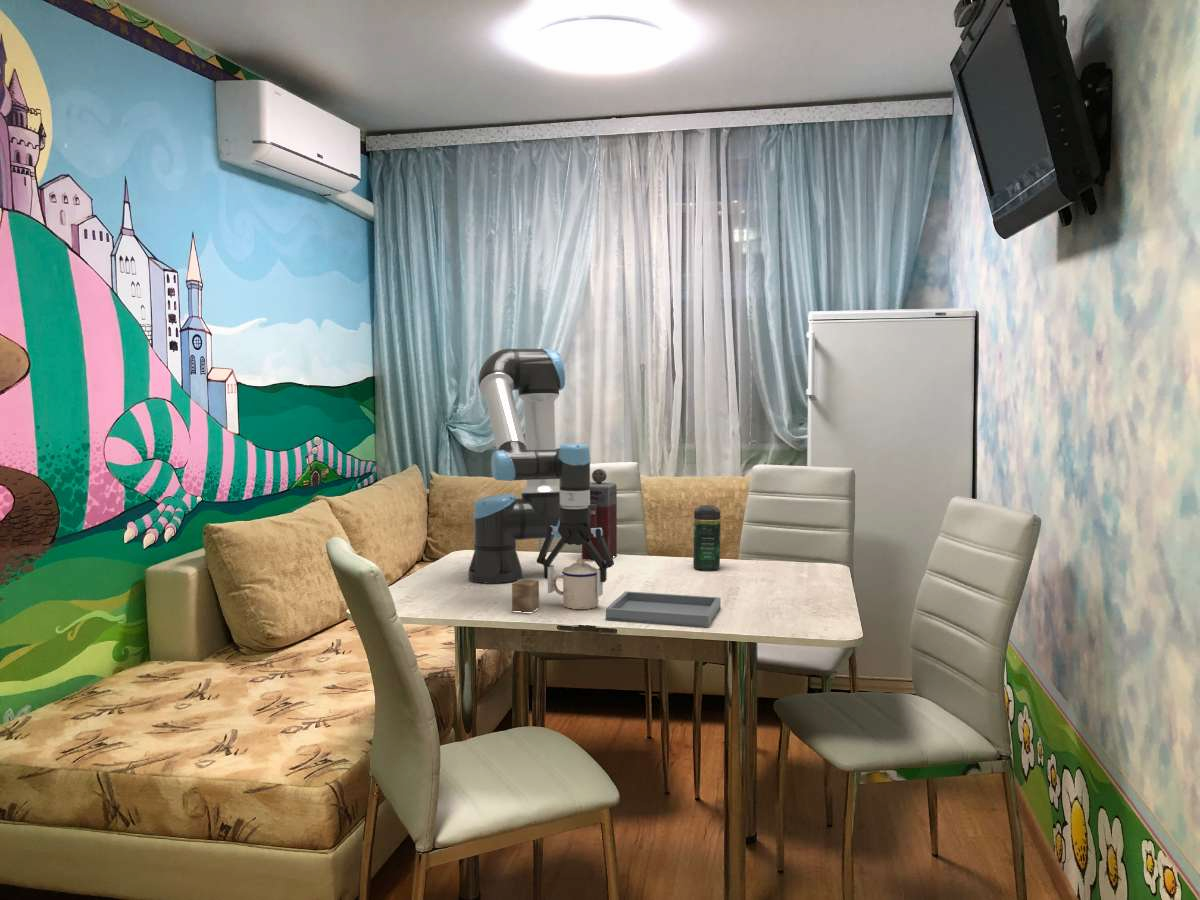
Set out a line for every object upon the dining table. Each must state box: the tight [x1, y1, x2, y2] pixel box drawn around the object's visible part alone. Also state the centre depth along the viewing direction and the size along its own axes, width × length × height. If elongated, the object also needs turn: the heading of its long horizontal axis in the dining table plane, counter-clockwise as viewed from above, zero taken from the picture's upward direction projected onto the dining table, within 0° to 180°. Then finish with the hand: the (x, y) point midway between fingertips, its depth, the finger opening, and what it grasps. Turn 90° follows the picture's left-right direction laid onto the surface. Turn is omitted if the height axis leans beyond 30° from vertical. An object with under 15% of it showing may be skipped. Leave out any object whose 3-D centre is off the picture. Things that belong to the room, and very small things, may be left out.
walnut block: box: [511, 578, 540, 612], centre depth 215 cm, size 5×5×7 cm
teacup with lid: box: [552, 558, 599, 610], centre depth 220 cm, size 12×9×12 cm
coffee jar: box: [692, 504, 722, 571], centre depth 264 cm, size 10×8×19 cm
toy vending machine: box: [581, 468, 618, 561], centre depth 278 cm, size 9×11×28 cm
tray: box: [605, 590, 721, 628], centre depth 212 cm, size 24×18×3 cm
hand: (575, 593), depth 220 cm, fingers closed on teacup with lid, 12 cm apart
